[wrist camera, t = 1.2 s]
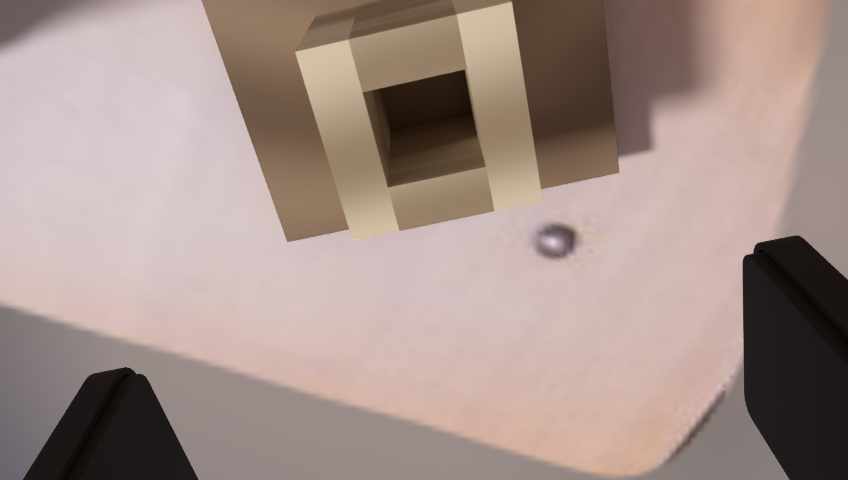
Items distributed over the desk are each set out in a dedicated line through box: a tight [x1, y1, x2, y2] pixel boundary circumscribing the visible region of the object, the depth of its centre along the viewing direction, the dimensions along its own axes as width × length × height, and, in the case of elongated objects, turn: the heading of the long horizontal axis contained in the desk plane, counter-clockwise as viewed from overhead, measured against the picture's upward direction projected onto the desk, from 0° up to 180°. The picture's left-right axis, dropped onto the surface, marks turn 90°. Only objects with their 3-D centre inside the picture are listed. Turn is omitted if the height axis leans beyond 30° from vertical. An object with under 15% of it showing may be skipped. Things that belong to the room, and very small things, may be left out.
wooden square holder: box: [295, 0, 543, 240], centre depth 23 cm, size 6×6×5 cm
